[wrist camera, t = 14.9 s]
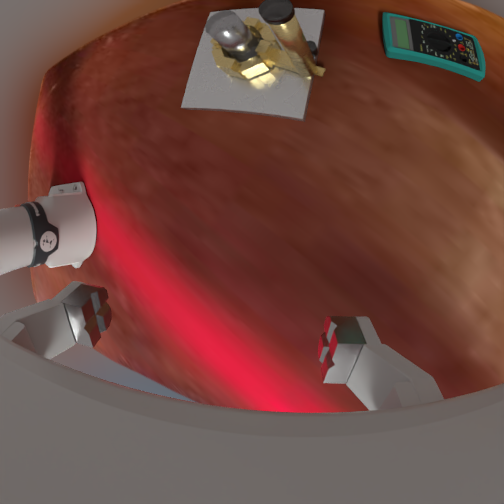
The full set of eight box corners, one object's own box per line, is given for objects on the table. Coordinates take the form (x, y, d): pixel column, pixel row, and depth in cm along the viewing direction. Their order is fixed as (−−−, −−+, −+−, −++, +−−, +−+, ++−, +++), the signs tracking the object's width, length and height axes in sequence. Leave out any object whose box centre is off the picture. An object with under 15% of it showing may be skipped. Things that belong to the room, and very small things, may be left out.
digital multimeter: (482, 85, 21) (490, 77, 18) (384, 58, 26) (385, 48, 23) (474, 44, 19) (480, 35, 17) (380, 20, 24) (381, 8, 21)
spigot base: (185, 109, 37) (140, 92, 27) (213, 15, 32) (180, -15, 22) (317, 123, 31) (301, 96, 22) (336, 15, 26) (325, -28, 17)
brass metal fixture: (211, 70, 32) (150, 31, 20) (237, 26, 30) (187, -24, 17) (303, 98, 29) (269, 45, 17) (329, 48, 26) (308, -19, 14)
